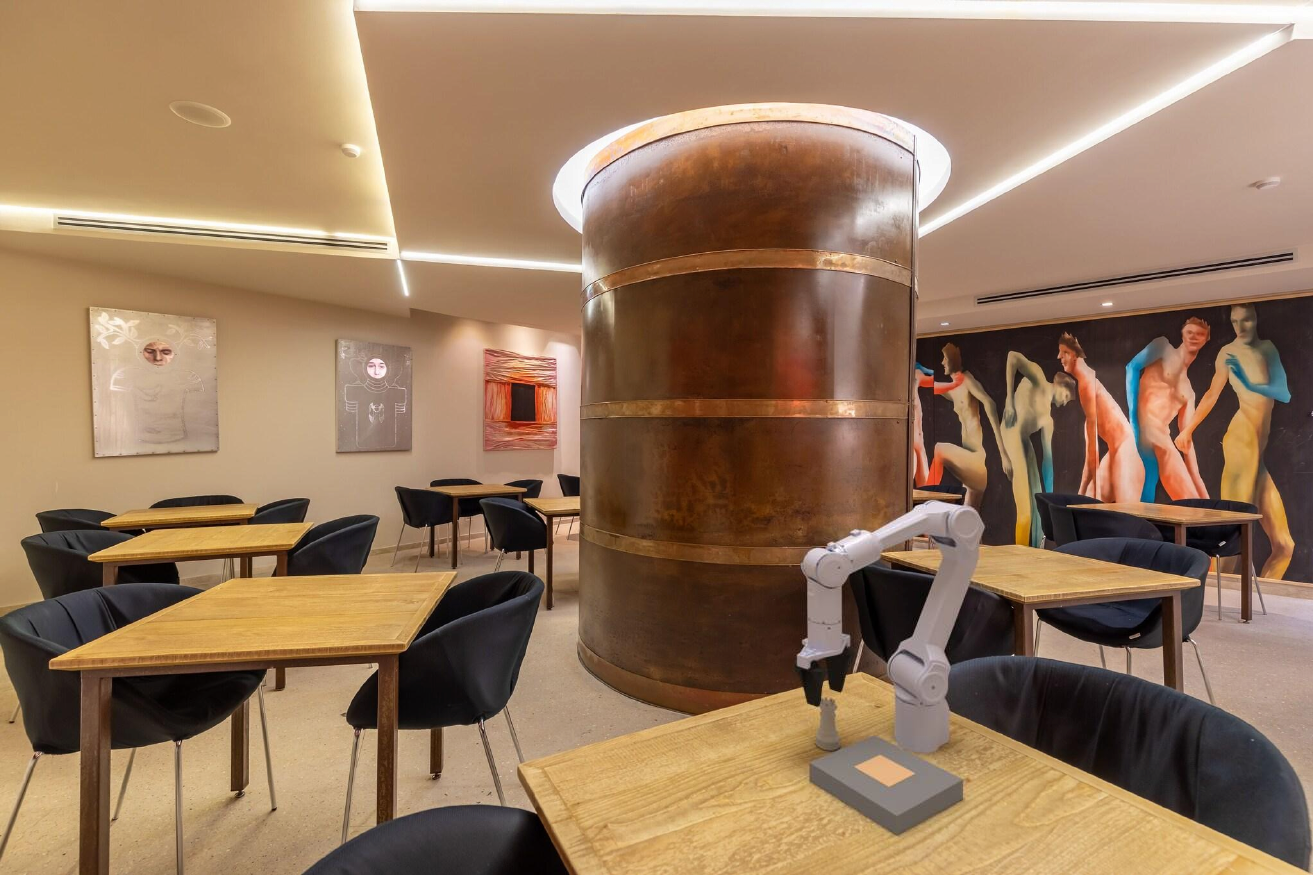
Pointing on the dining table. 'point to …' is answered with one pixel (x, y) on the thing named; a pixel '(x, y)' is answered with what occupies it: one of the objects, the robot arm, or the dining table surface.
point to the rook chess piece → (827, 727)
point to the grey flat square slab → (886, 783)
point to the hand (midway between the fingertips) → (824, 697)
